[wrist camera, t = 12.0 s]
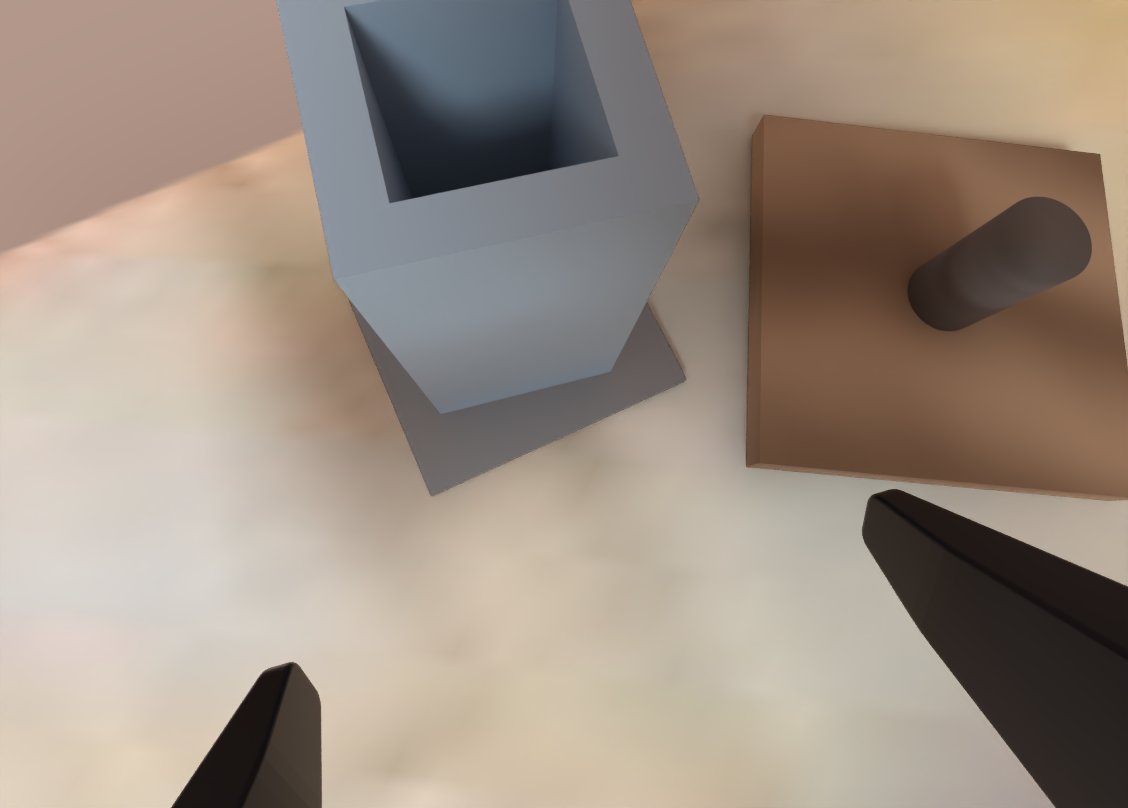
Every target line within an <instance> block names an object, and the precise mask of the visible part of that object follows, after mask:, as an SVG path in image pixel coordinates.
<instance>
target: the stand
mask: <svg viewBox="0 0 1128 808" xmlns="http://www.w3.org/2000/svg"><path fill="white" fill-rule="evenodd" d="M746 467H753V468H764V469H774V470H785V471H796V472H807V473H817V474H828V475H839V476H849V477H860V478H871V479H882V480H892V481H903V482H914V483H924V484H935V485H946V486H957V487H967V488H978V489H989V490H999V491H1010V492H1021V493H1032V494H1042V495H1053V496H1064V497H1074V498H1085V499H1096V500H1106V501H1116V500H1128V367H1127V359H1126V351H1125V343H1124V336H1123V328H1122V320H1121V313H1120V305H1119V297H1118V289H1117V282H1116V274H1115V266H1114V259H1113V251H1112V243H1111V235H1110V228H1109V220H1108V212H1107V205H1106V197H1105V189H1104V182H1103V174H1102V166H1101V158H1100V154H1095V153H1086V152H1077V151H1069V150H1060V149H1052V148H1043V147H1035V146H1026V145H1018V144H1009V143H1001V142H992V141H984V140H975V139H967V138H958V137H950V136H941V135H932V134H924V133H915V132H907V131H898V130H890V129H881V128H873V127H864V126H856V125H847V124H839V123H830V122H822V121H813V120H804V119H796V118H787V117H779V116H770V115H764V116H763V118H762V120H761V121H760V123H759V125H758V127H757V128H756V130H755V132H754V134H753V135H752V173H751V229H750V286H749V342H748V398H747V454H746Z"/></svg>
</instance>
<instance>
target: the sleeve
mask: <svg viewBox="0 0 1128 808" xmlns="http://www.w3.org/2000/svg"><path fill="white" fill-rule="evenodd" d="M277 5H278V10H279V15H280V20H281V24H282V29H283V34H284V39H285V44H286V48H287V53H288V58H289V63H290V68H291V73H292V78H293V82H294V88H295V93H296V98H297V103H298V107H299V112H300V117H301V122H302V127H303V132H304V137H305V142H306V146H307V151H308V156H309V161H310V166H311V171H312V176H313V181H314V185H315V190H316V195H317V200H318V205H319V210H320V215H321V220H322V224H323V229H324V234H325V239H326V244H327V249H328V254H329V259H330V263H331V268H332V273H333V278H334V281H335V282H336V283H337V284H338V286H339V287H340V288H341V289H342V291H343V292H344V293H345V294H346V296H347V297H348V298H349V299H350V301H351V302H352V303H353V304H354V306H355V307H356V308H357V309H358V311H359V312H360V313H361V314H362V316H363V317H364V318H365V319H366V321H367V322H368V323H369V325H370V326H371V327H372V328H373V330H374V331H375V332H376V333H377V335H378V336H379V337H380V338H381V340H382V341H383V342H384V343H385V345H386V346H387V347H388V348H389V350H390V351H391V352H392V353H393V355H394V356H395V357H396V358H397V360H398V361H399V362H400V364H401V365H402V366H403V367H404V369H405V370H406V371H407V372H408V374H409V375H410V376H411V377H412V379H413V380H414V381H415V382H416V384H417V385H418V386H419V387H420V389H421V390H422V391H423V392H424V394H425V395H426V396H427V397H428V399H429V400H430V401H431V402H432V404H433V405H434V406H435V408H436V409H437V410H438V411H439V413H440V414H444V413H448V412H452V411H456V410H460V409H464V408H468V407H472V406H476V405H480V404H484V403H488V402H492V401H496V400H500V399H504V398H508V397H512V396H516V395H520V394H524V393H528V392H532V391H536V390H540V389H544V388H548V387H552V386H556V385H560V384H564V383H568V382H572V381H576V380H580V379H584V378H588V377H592V376H596V375H600V374H604V373H608V372H611V370H612V368H613V366H614V364H615V362H616V360H617V358H618V356H619V354H620V352H621V350H622V348H623V346H624V345H625V343H626V341H627V339H628V337H629V335H630V333H631V331H632V329H633V327H634V325H635V323H636V321H637V319H638V317H639V316H640V314H641V312H642V310H643V308H644V306H645V304H646V302H647V300H648V298H649V296H650V294H651V292H652V290H653V288H654V286H655V285H656V283H657V281H658V279H659V277H660V275H661V273H662V271H663V269H664V267H665V265H666V263H667V261H668V259H669V257H670V256H671V254H672V252H673V250H674V248H675V246H676V244H677V242H678V240H679V238H680V236H681V234H682V232H683V230H684V228H685V227H686V225H687V223H688V221H689V219H690V217H691V215H692V213H693V211H694V209H695V207H696V205H697V203H698V201H699V197H698V194H697V191H696V188H695V186H694V183H693V180H692V177H691V174H690V171H689V168H688V165H687V163H686V160H685V157H684V154H683V151H682V148H681V145H680V142H679V139H678V137H677V134H676V131H675V128H674V125H673V122H672V119H671V116H670V114H669V111H668V108H667V105H666V102H665V99H664V96H663V93H662V91H661V88H660V85H659V82H658V79H657V76H656V73H655V70H654V67H653V65H652V62H651V59H650V56H649V53H648V50H647V47H646V44H645V42H644V39H643V36H642V33H641V30H640V27H639V24H638V21H637V19H636V16H635V13H634V10H633V7H632V4H631V1H630V0H277Z"/></svg>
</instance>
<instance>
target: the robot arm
mask: <svg viewBox="0 0 1128 808" xmlns="http://www.w3.org/2000/svg"><path fill="white" fill-rule="evenodd" d="M862 536H863V539H864V542H865V544H866V546H867V548H868V549H869V551H870V553H871V554H872V556H873V557H874V559H875V561H876V562H877V564H878V565H879V567H880V569H881V570H882V572H883V573H884V575H885V577H886V578H887V580H888V581H889V583H890V585H891V586H892V588H893V589H894V591H895V593H896V594H897V596H898V597H899V599H900V601H901V602H902V604H903V605H904V607H905V609H906V610H907V612H908V613H909V615H910V616H911V618H912V619H913V621H914V622H915V624H916V625H917V627H918V628H919V630H920V631H921V633H922V634H923V635H924V637H925V638H926V639H927V641H928V642H929V644H930V645H931V646H932V647H933V649H934V650H935V651H936V653H937V654H938V655H939V657H940V658H941V659H942V660H943V662H944V663H945V664H946V666H947V667H948V668H949V670H950V671H951V672H952V673H953V675H954V676H955V677H956V679H957V680H958V681H959V683H960V684H961V685H962V686H963V688H964V689H965V690H966V692H967V693H968V694H969V696H970V697H971V698H972V699H973V701H974V702H975V703H976V705H977V706H978V707H979V709H980V710H981V711H982V712H983V714H984V715H985V716H986V718H987V719H988V720H989V722H990V723H991V724H992V725H993V727H994V728H995V729H996V731H997V732H998V733H999V735H1000V736H1001V737H1002V738H1003V740H1004V741H1005V742H1006V744H1007V745H1008V746H1009V748H1010V749H1011V750H1012V751H1013V753H1014V754H1015V755H1016V757H1017V758H1018V759H1019V761H1020V762H1021V763H1022V764H1023V766H1024V767H1025V768H1026V770H1027V771H1028V772H1029V774H1030V775H1031V776H1032V777H1033V779H1034V780H1035V781H1036V783H1037V784H1038V785H1039V787H1040V788H1041V789H1042V790H1043V792H1044V793H1045V794H1046V796H1047V797H1048V798H1049V800H1050V801H1051V802H1052V803H1053V805H1054V806H1055V807H1056V808H1128V586H1125V585H1123V584H1121V583H1118V582H1116V581H1114V580H1111V579H1109V578H1107V577H1104V576H1102V575H1099V574H1097V573H1095V572H1092V571H1090V570H1088V569H1085V568H1083V567H1081V566H1078V565H1076V564H1074V563H1071V562H1069V561H1066V560H1064V559H1062V558H1059V557H1057V556H1055V555H1052V554H1050V553H1048V552H1045V551H1043V550H1040V549H1038V548H1036V547H1033V546H1031V545H1029V544H1026V543H1024V542H1022V541H1019V540H1017V539H1015V538H1012V537H1010V536H1007V535H1005V534H1003V533H1000V532H998V531H996V530H993V529H991V528H989V527H986V526H984V525H982V524H979V523H977V522H974V521H972V520H970V519H967V518H965V517H963V516H960V515H958V514H956V513H953V512H951V511H948V510H946V509H944V508H941V507H939V506H937V505H934V504H932V503H930V502H927V501H925V500H923V499H920V498H918V497H915V496H913V495H911V494H908V493H906V492H904V491H901V490H897V489H891V490H887V491H884V492H880V493H877V494H874V495H872V496H871V497H870V498H869V499H868V502H867V507H866V512H865V517H864V522H863V527H862ZM171 808H322V762H321V703H320V698H319V695H318V692H317V690H316V689H315V687H314V686H313V684H312V683H311V682H310V680H309V679H308V677H307V676H306V675H305V673H304V672H303V670H302V669H301V667H300V666H299V665H298V664H297V663H294V662H289V663H285V664H282V665H278V666H275V667H271V668H269V669H267V670H265V671H264V672H263V673H262V674H261V675H260V676H259V678H258V679H257V681H256V682H255V683H254V685H253V686H252V688H251V689H250V691H249V692H248V694H247V695H246V697H245V698H244V700H243V701H242V703H241V704H240V706H239V707H238V709H237V710H236V712H235V713H234V715H233V716H232V718H231V719H230V721H229V722H228V724H227V725H226V727H225V728H224V730H223V731H222V733H221V734H220V736H219V737H218V739H217V740H216V742H215V743H214V745H213V746H212V748H211V749H210V750H209V752H208V753H207V755H206V756H205V758H204V759H203V761H202V762H201V764H200V765H199V767H198V768H197V770H196V771H195V773H194V774H193V776H192V777H191V779H190V780H189V782H188V783H187V785H186V786H185V788H184V789H183V791H182V792H181V794H180V795H179V797H178V798H177V800H176V801H175V803H174V804H173V806H172V807H171Z"/></svg>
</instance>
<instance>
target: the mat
mask: <svg viewBox="0 0 1128 808" xmlns="http://www.w3.org/2000/svg"><path fill="white" fill-rule="evenodd" d="M348 299H349V298H348ZM349 302H350V304H351V307H352V309H353V311H354V314H355V316H356V319H357V321H358V323H359V326H360V328H361V330H362V333H363V335H364V338H365V340H366V342H367V345H368V347H369V350H370V352H371V354H372V357H373V359H374V361H375V364H376V366H377V369H378V371H379V373H380V376H381V378H382V381H383V383H384V385H385V388H386V390H387V392H388V395H389V397H390V400H391V402H392V404H393V407H394V409H395V412H396V414H397V416H398V419H399V421H400V423H401V426H402V428H403V431H404V433H405V435H406V438H407V440H408V443H409V445H410V447H411V450H412V452H413V454H414V457H415V459H416V462H417V464H418V466H419V469H420V471H421V474H422V476H423V478H424V481H425V483H426V486H427V488H428V490H429V493H430V495H431V496H434V495H436V494H438V493H441V492H443V491H445V490H447V489H449V488H452V487H454V486H456V485H458V484H460V483H463V482H465V481H467V480H469V479H471V478H474V477H476V476H478V475H480V474H482V473H485V472H487V471H489V470H491V469H493V468H496V467H498V466H500V465H502V464H504V463H507V462H509V461H511V460H513V459H515V458H518V457H520V456H522V455H524V454H526V453H529V452H531V451H533V450H535V449H537V448H540V447H542V446H544V445H546V444H548V443H551V442H553V441H555V440H557V439H559V438H562V437H564V436H566V435H568V434H570V433H573V432H575V431H577V430H579V429H581V428H584V427H586V426H588V425H590V424H592V423H595V422H597V421H599V420H601V419H603V418H605V417H608V416H610V415H612V414H614V413H616V412H619V411H621V410H623V409H625V408H627V407H630V406H632V405H634V404H636V403H638V402H641V401H643V400H645V399H647V398H649V397H652V396H654V395H656V394H658V393H660V392H663V391H665V390H667V389H669V388H671V387H674V386H676V385H678V384H680V383H682V382H684V381H685V380H686V377H685V375H684V373H683V371H682V369H681V367H680V365H679V363H678V361H677V359H676V358H675V356H674V354H673V352H672V350H671V348H670V346H669V344H668V342H667V340H666V338H665V336H664V334H663V333H662V331H661V329H660V327H659V325H658V323H657V321H656V319H655V317H654V315H653V313H652V311H651V309H650V307H649V306H648V304H647V302H646V304H645V306H644V308H643V310H642V312H641V314H640V316H639V317H638V319H637V321H636V323H635V325H634V327H633V329H632V331H631V333H630V335H629V337H628V339H627V341H626V343H625V345H624V346H623V348H622V350H621V352H620V354H619V356H618V358H617V360H616V362H615V364H614V366H613V368H612V370H611V372H608V373H604V374H600V375H596V376H592V377H588V378H584V379H580V380H576V381H572V382H568V383H564V384H560V385H556V386H552V387H548V388H544V389H540V390H536V391H532V392H528V393H524V394H520V395H516V396H512V397H508V398H504V399H500V400H496V401H492V402H488V403H484V404H480V405H476V406H472V407H468V408H464V409H460V410H456V411H452V412H448V413H444V414H440V413H439V411H438V410H437V409H436V408H435V406H434V405H433V404H432V402H431V401H430V400H429V399H428V397H427V396H426V395H425V394H424V392H423V391H422V390H421V389H420V387H419V386H418V385H417V384H416V382H415V381H414V380H413V379H412V377H411V376H410V375H409V374H408V372H407V371H406V370H405V369H404V367H403V366H402V365H401V364H400V362H399V361H398V360H397V358H396V357H395V356H394V355H393V353H392V352H391V351H390V350H389V348H388V347H387V346H386V345H385V343H384V342H383V341H382V340H381V338H380V337H379V336H378V335H377V333H376V332H375V331H374V330H373V328H372V327H371V326H370V325H369V323H368V322H367V321H366V319H365V318H364V317H363V316H362V314H361V313H360V312H359V311H358V309H357V308H356V307H355V306H354V304H353V303H352V302H351V301H350V299H349Z"/></svg>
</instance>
